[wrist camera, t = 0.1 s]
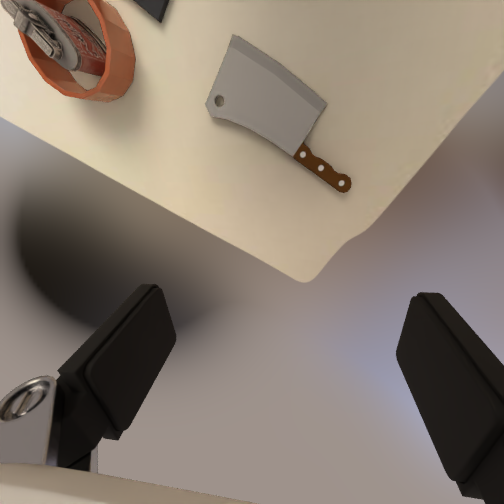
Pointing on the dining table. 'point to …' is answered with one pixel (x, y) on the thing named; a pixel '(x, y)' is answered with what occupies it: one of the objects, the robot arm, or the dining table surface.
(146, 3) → the mat
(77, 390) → the robot arm
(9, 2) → the lighter
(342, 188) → the kitchen cleaver
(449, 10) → the dining table surface
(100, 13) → the orange hollow ring
